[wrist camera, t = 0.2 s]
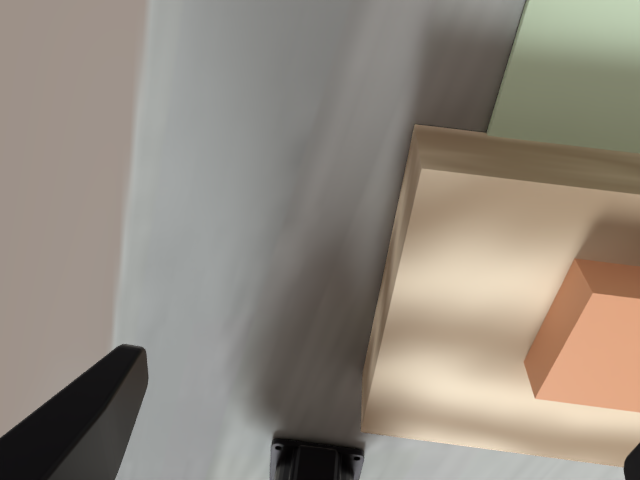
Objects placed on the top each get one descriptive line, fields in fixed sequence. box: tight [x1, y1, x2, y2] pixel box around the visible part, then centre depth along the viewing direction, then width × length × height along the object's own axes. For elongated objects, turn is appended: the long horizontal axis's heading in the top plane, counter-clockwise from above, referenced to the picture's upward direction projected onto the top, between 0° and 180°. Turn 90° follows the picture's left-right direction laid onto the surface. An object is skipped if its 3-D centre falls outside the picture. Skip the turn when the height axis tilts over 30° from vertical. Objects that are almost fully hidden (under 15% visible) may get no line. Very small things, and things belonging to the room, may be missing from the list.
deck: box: [361, 124, 640, 467], centre depth 23 cm, size 16×22×4 cm
